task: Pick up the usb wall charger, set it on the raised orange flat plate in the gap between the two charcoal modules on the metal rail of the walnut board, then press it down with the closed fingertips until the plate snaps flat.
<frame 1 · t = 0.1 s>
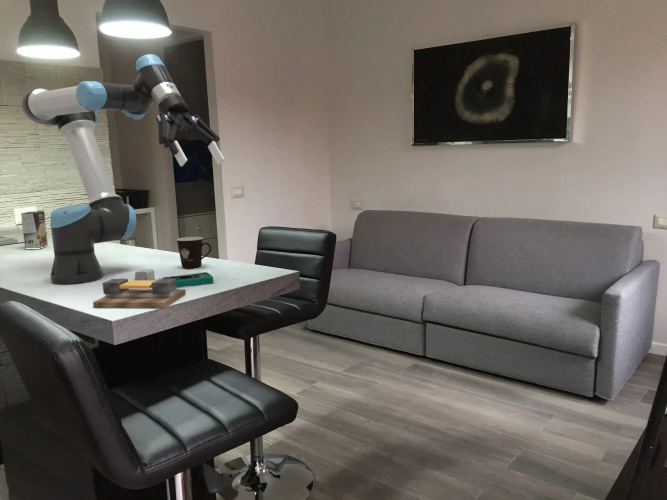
hand: (203, 162, 154), 36 cm above the counter, tool tilted 35°, fingers open, 13 cm apart
usb wall charger: (143, 284, 168), on the counter
digital multimeter: (187, 285, 166), on the counter
coffee mug: (194, 268, 190), on the counter
coffee box: (36, 248, 244), on the counter
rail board: (141, 300, 147), on the counter
orange flat plate: (139, 284, 146), point 4 cm above the counter, slide at 1.5 cm
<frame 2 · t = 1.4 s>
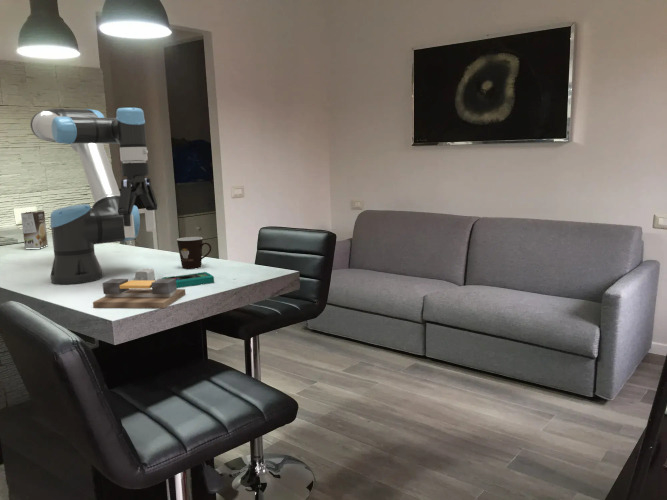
hand: (141, 234, 165), 15 cm above the counter, tool pointing down, fingers open, 13 cm apart
nothing on the counter moved.
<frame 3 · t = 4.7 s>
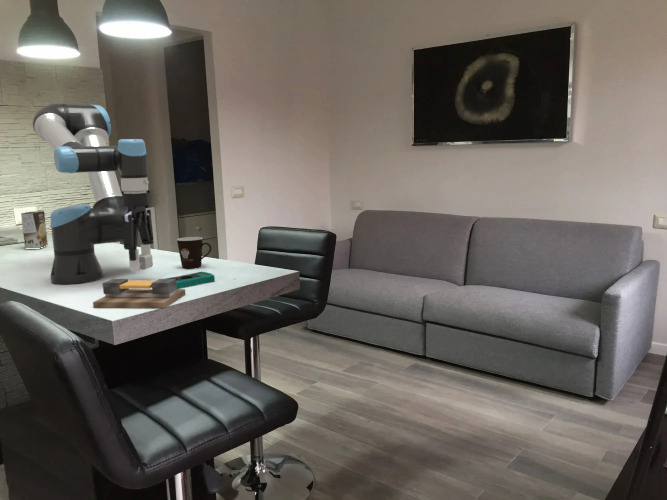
hand: (141, 267, 167), 5 cm above the counter, tool pointing down, fingers closed on usb wall charger, 7 cm apart
usb wall charger: (141, 269, 167), point 4 cm above the counter, touching gripper
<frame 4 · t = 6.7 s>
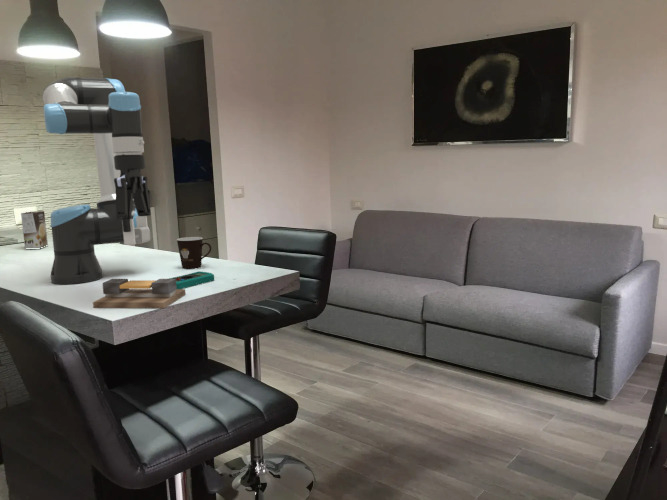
hand: (136, 242, 146), 16 cm above the counter, tool pointing down, fingers closed on usb wall charger, 7 cm apart
usb wall charger: (137, 244, 146), point 15 cm above the counter, touching gripper
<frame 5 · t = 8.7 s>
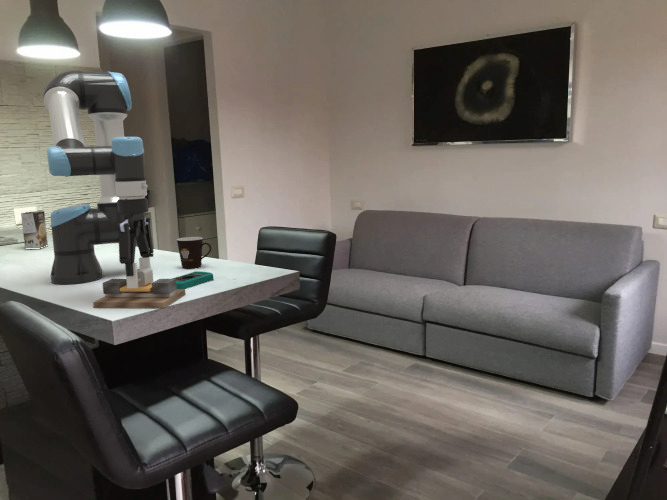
hand: (139, 284, 146), 5 cm above the counter, tool pointing down, fingers closed on usb wall charger, 7 cm apart
usb wall charger: (140, 286, 146), point 4 cm above the counter, touching gripper
orange flat plate: (140, 287, 146), point 4 cm above the counter, slide at 0.7 cm
when the fingers open (4 cm above the counter, at t = 9.0 s): usb wall charger stays where it is, resting on orange flat plate.
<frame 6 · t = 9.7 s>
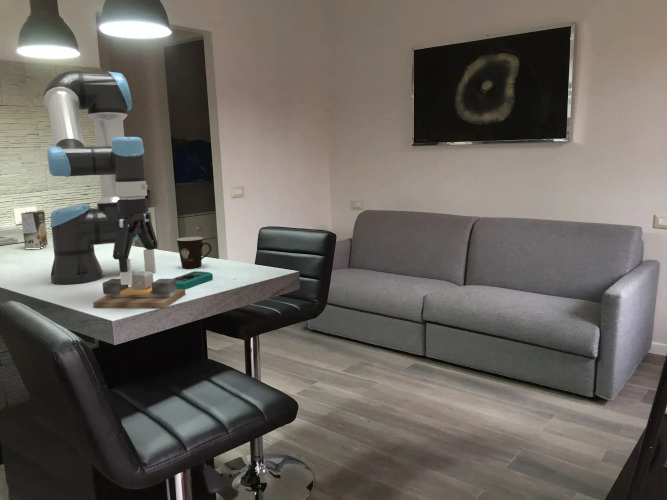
hand: (139, 278, 146), 6 cm above the counter, tool pointing down, fingers open, 13 cm apart
usb wall charger: (140, 289, 147), point 3 cm above the counter, touching orange flat plate
orange flat plate: (140, 290, 147), point 3 cm above the counter, slide at -0.1 cm, touching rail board, usb wall charger
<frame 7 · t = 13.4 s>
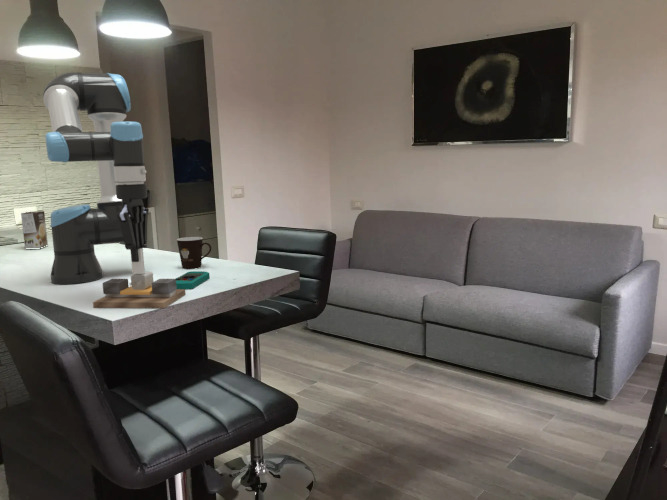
hand: (138, 273, 146), 8 cm above the counter, tool pointing down, fingers closed
usb wall charger: (140, 289, 147), point 3 cm above the counter, touching gripper, orange flat plate
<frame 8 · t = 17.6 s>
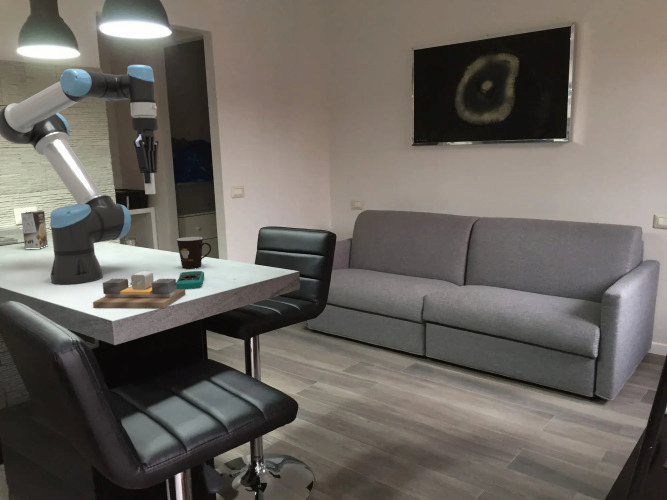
hand: (150, 193, 175), 26 cm above the counter, tool pointing down, fingers closed
usb wall charger: (140, 289, 147), point 3 cm above the counter, touching orange flat plate
at the end: orange flat plate slide at -0.1 cm; usb wall charger inside the target area (0.1 cm from its centre), point 3.1 cm above the counter; usb wall charger tilted 0° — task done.
